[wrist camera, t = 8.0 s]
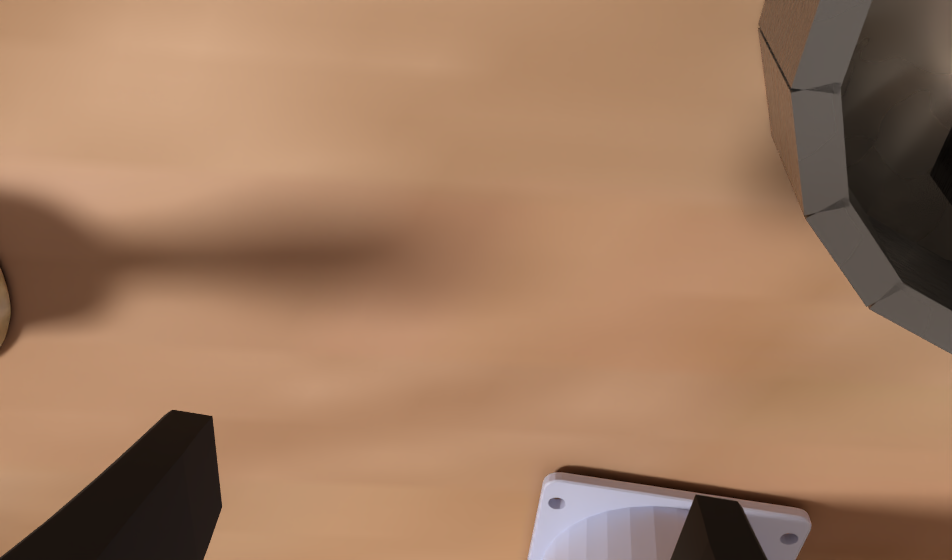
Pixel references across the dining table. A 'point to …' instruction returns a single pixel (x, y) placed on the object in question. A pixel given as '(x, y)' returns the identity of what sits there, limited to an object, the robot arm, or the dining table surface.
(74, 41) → the dining table surface
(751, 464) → the dining table surface
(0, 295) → the hand bell
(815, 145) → the grey metal bowl
